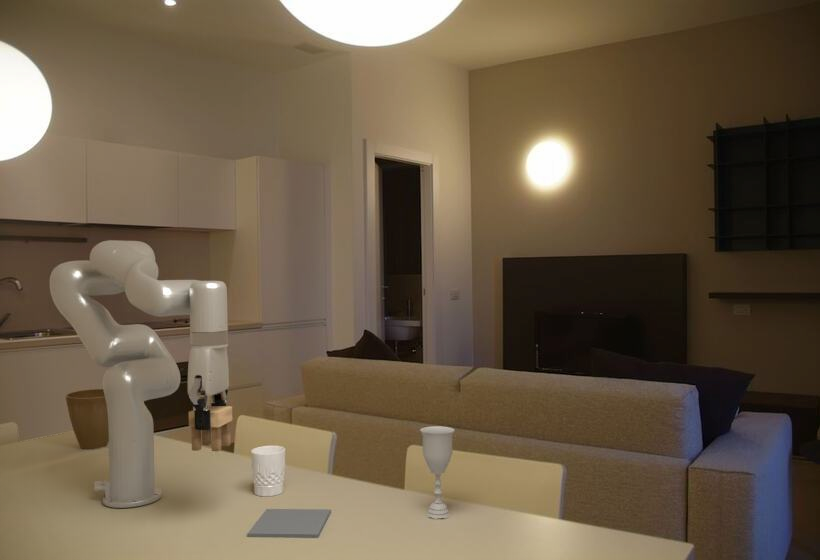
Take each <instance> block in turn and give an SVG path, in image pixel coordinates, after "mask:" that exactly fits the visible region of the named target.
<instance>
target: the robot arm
mask: <svg viewBox="0 0 820 560" xmlns="http://www.w3.org/2000/svg"><path fill="white" fill-rule="evenodd" d="M159 272H160V271H159V267H158V264H157V262H156V256H155V252H154V250H153V248H152V247H151V246H150V245H149V244H148V243H145V242H144V241H139V240H121V239H120V240H115V239H113V240H111V239H108V240H104V241H101V242H99V243H97V244H96V245H94V246H93V248H92V249H91V251H90V253H89V260H83V259H82V260H72V261H71V260H69V261H67V262H62V263H60V264H58V265H57V266H55V267H54V268H53V270H52V271H51V274H50V276H49V290H50V291H49V292H50V295H51V298H52V301H53V304H54V306H55V307H56V308H57V310H58V311H59V312H60V314H61V315H62V316H63V317H64V318H65V320H66V321H67V322H68V323H69V324H70V325H71V327H72V328H73V329H74V331H75V333H76V334H77V337H78V338H79V339H80V341H81V343H82V344H83V345H84V347H85V349H86V352H87V353H88V354H89V356H90V358H91V359H92V360H93V362H94V363H95V364H96V365H98V366H99V367H102V368H108V369H107V370H106V371H105V372H104V375H103V378H102V389H103V391H104V395H105V399H106V404H107V411H108V428H109V442H108V460H109V461H108V463H109V464H108V465H109V467H108V468H109V469H108V470H109V479H108V480H99V479H97V480H95V481H94V484H93V487H94V488H93V490H94V492H104V493H105V494H104V495H103V497H102V504H103V505H104V506H106V507H109V508H115V509H123V508H124V509H125V508H129V509H130V508H135V507H140V506H141V507H142V506H146V505H149V504H152V503H154V502H156V501H158V500H160V499H161V498H162V497H163V491H162V489H161V488H160V487H158V486H155V485H156V484H155V483H156V481H155V442H154V441H155V433H154V419H153V416H152V413H151V412H150V410H149V409H148V407H147V405H146V404H145V402H147V401H149V400H154V399H159V398H164V397H167V396H170V395H172V394H173V393H175V392H176V391H178V389H179V387H180V383H181V373H180V369H179V367H178V364H177V362H176V361H175V360H174V358H173V356H172V355H171V353H170V351H169V350H168V349H167V347H166V346H165V344H164V342H163V341H162V340H161V338H160V337H159V335H158V334H157V333H156V331H155V330H154V329H153V328H151V327H150V326H148V325H146V324H140V323H135V324H134V323H133V324H120V323H118V322H117V321H116V320H115V319H114V318H113V316H112V314H111V313H110V311H109V310H108V309H107V308H106V307H105V306H104V305H103V304H101V303H100V302H99V301H97V300H95V299H93V298H92V297H90V296H106V295H107V296H110V295H111V296H112V295H118V294H120V293H123V292H125V293H124V294H125V295H126V298H127V300H128V302H129V303H130V304H131V305H132V306H134V307H136V309H138V310H140V311H142V312H144V313H146V314H148V315H150V316H154V317H160V318H162V317H175V316H188V315H189V332H190V334H189V336H190V351H189V355H188V363H187V364H188V366H187V367H188V368H187V395H188V397H189V399H190V402H191V405H192V406H193V407H192V409H193V410H194V412H195V429H196V430H201V431H202V430H210V428H211V423H210V410H208V407H209V406H227V402H228V398H227V397H228V396H227V395H228V391H229V388H230V372H229V370H230V369H229V367H230V366H229V356H228V349H227V348H228V347H229V328H228V326H229V325H228V322H229V321H228V288H227V285H226V283H225V282H224V281H221V280H199V279H165V280H164V279H163V280H162V279H161V280H158V277H159ZM203 400H204V401H203ZM211 400H212V403H210V401H211Z"/></svg>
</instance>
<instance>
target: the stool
mask: <svg viewBox="0 0 820 560" xmlns="http://www.w3.org/2000/svg"><path fill="white" fill-rule="evenodd" d="M208 410H210V423H211V428H210V430H196V429H195V412H194V410H189V411H188V427H191V451H195V452H197V451H201V450H202V446H210V445H211V452H220V451H222V447H229V446H230V445H231V444H232V443H231V441H232V440H231V422H232V421H233V406H229V405H228V406H227V405H226V406H211V405H209V407H208Z"/></svg>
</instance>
